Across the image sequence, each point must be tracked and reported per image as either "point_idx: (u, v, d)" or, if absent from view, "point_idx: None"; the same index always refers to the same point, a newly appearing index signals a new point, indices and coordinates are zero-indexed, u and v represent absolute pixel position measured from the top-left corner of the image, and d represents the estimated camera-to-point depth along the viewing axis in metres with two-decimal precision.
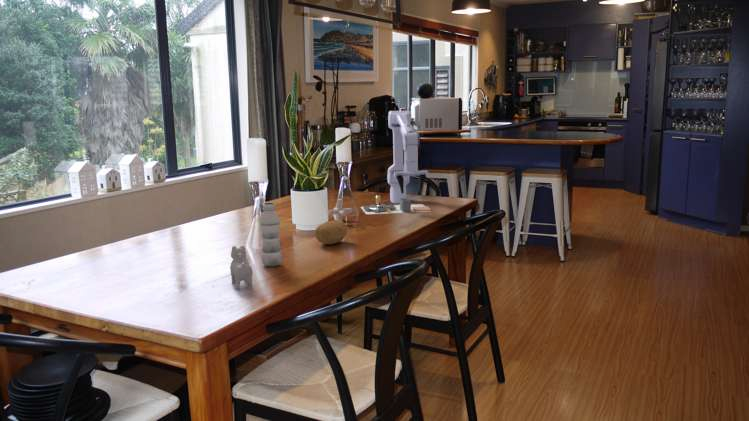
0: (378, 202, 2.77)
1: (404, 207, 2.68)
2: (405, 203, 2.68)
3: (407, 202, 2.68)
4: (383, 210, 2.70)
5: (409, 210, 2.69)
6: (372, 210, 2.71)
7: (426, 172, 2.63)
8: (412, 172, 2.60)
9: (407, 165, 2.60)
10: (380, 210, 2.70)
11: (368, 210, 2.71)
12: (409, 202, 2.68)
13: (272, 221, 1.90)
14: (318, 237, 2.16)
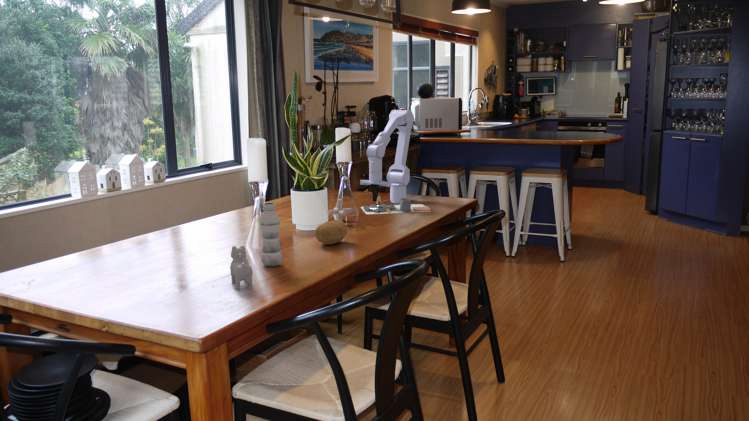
0: (378, 202, 2.77)
1: (404, 207, 2.68)
2: (405, 203, 2.68)
3: (407, 202, 2.68)
4: (383, 210, 2.70)
5: (409, 210, 2.69)
6: (372, 210, 2.71)
7: (387, 183, 2.73)
8: (372, 182, 2.74)
9: (369, 175, 2.75)
10: (380, 210, 2.70)
11: (368, 210, 2.71)
12: (409, 202, 2.68)
13: (272, 221, 1.90)
14: (318, 237, 2.16)
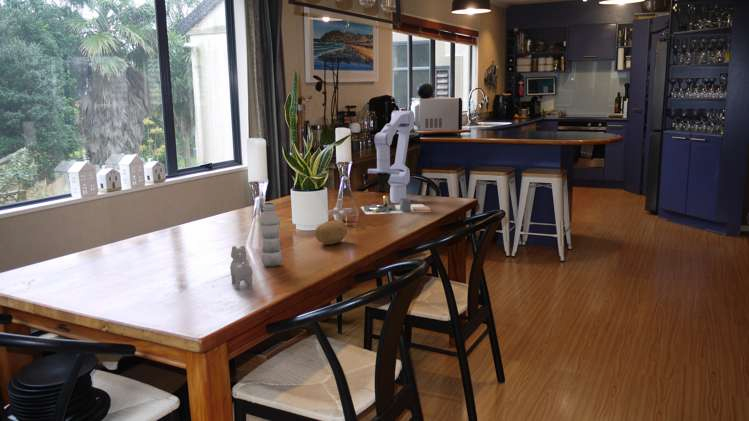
0: (384, 202, 2.77)
1: (404, 207, 2.68)
2: (405, 203, 2.68)
3: (407, 202, 2.68)
4: (372, 210, 2.71)
5: (409, 210, 2.69)
6: None
7: (396, 171, 2.71)
8: (380, 170, 2.71)
9: (377, 163, 2.72)
10: (370, 209, 2.71)
11: (365, 208, 2.76)
12: (409, 202, 2.68)
13: (272, 221, 1.90)
14: (318, 237, 2.16)
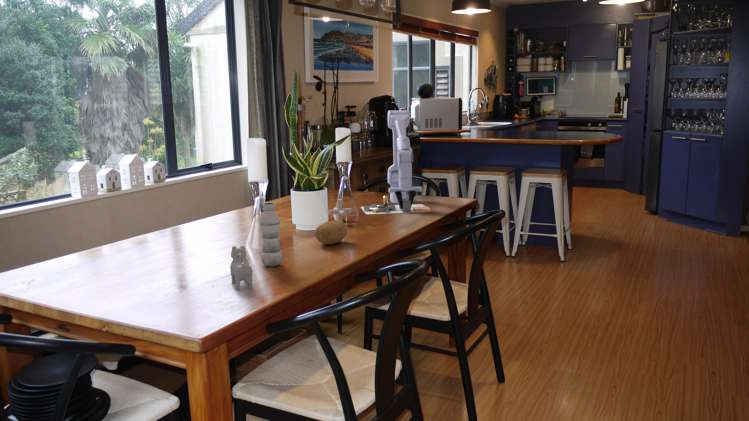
0: (384, 202, 2.77)
1: (404, 207, 2.68)
2: (405, 203, 2.68)
3: (407, 202, 2.68)
4: (372, 210, 2.71)
5: (409, 210, 2.69)
6: None
7: (420, 188, 2.70)
8: (406, 188, 2.66)
9: (401, 181, 2.67)
10: (370, 209, 2.71)
11: (365, 208, 2.76)
12: (409, 202, 2.68)
13: (272, 221, 1.90)
14: (318, 237, 2.16)
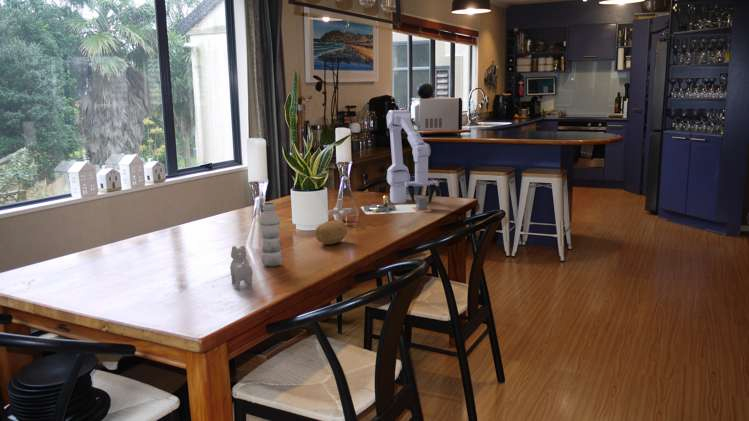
0: (384, 202, 2.77)
1: (420, 204, 2.70)
2: (421, 201, 2.70)
3: (423, 200, 2.70)
4: (372, 210, 2.71)
5: (425, 207, 2.71)
6: None
7: (436, 182, 2.72)
8: (423, 182, 2.68)
9: (418, 176, 2.69)
10: (370, 209, 2.71)
11: (365, 208, 2.76)
12: (425, 200, 2.70)
13: (272, 221, 1.90)
14: (318, 237, 2.16)
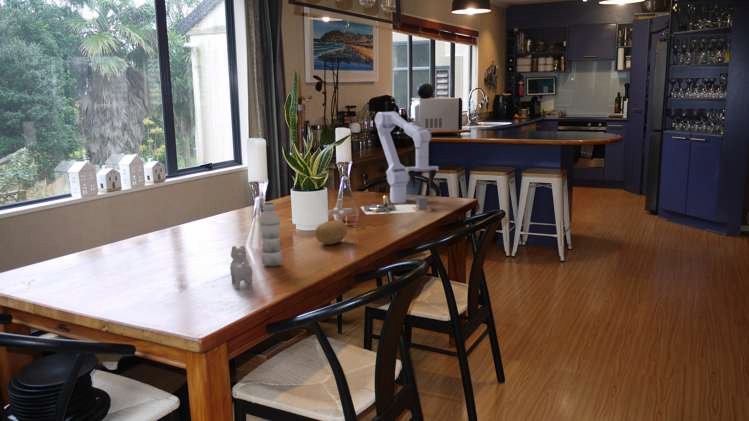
0: (384, 202, 2.77)
1: (420, 204, 2.70)
2: (421, 201, 2.70)
3: (423, 200, 2.70)
4: (372, 210, 2.71)
5: (425, 207, 2.71)
6: None
7: (436, 167, 2.78)
8: (423, 167, 2.74)
9: (418, 161, 2.75)
10: (370, 209, 2.71)
11: (365, 208, 2.76)
12: (425, 200, 2.70)
13: (272, 221, 1.90)
14: (318, 237, 2.16)
